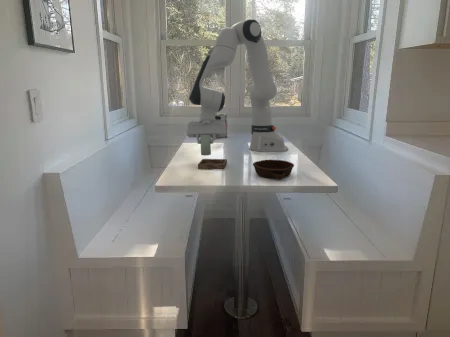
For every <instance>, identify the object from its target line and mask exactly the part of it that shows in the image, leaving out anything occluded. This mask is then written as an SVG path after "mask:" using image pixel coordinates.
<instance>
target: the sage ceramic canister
mask: <svg viewBox="0 0 450 337" xmlns="http://www.w3.org/2000/svg"><path fill="white" fill-rule="evenodd" d="M199 139H200V142H201V144H200V154H201V156H211V155H212V147H211V144H210V139H211V137H210V134H202V135H200V137H199Z"/></svg>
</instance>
